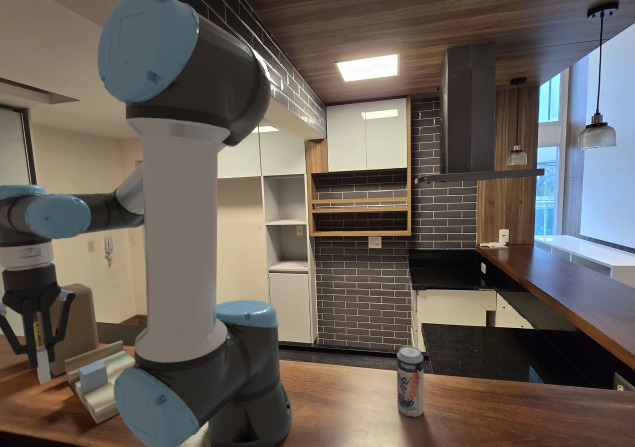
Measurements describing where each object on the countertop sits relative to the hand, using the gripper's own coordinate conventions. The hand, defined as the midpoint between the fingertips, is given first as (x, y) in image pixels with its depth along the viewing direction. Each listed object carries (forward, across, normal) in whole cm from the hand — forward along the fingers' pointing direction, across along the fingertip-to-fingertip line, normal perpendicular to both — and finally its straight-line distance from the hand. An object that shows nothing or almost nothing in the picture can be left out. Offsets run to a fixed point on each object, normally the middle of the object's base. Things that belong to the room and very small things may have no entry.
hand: (44, 379), depth 62 cm
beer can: (+6, +44, -58) cm, 73 cm away
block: (+8, +8, +20) cm, 23 cm away
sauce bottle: (+8, +5, +29) cm, 30 cm away
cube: (+5, +8, -1) cm, 9 cm away
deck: (+7, +11, -1) cm, 13 cm away
